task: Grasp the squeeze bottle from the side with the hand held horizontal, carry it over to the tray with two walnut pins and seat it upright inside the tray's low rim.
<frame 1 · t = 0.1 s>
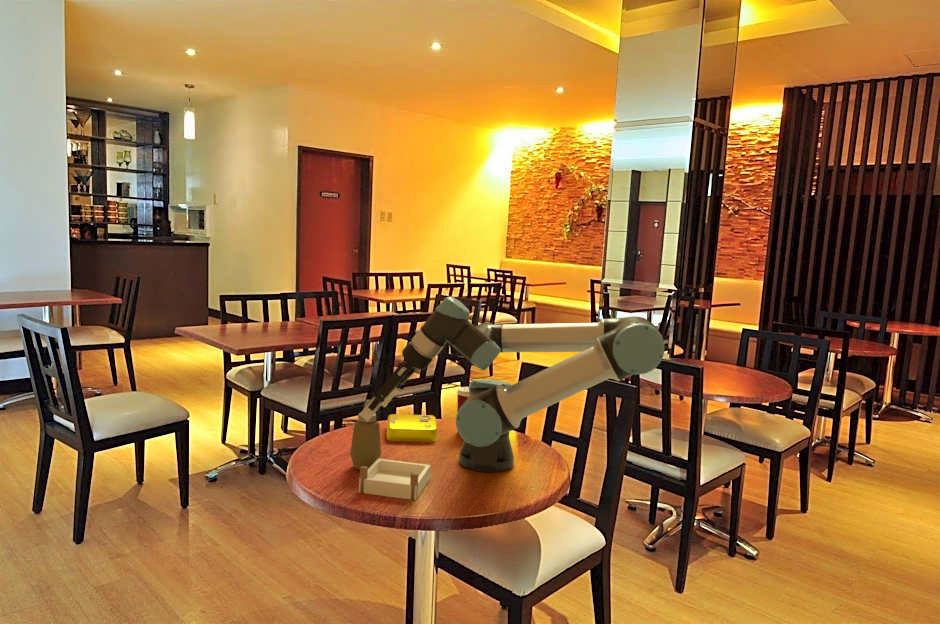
hand: (372, 410, 168), 15 cm above the table, tool tilted 35°, fingers open, 13 cm apart
paper cup: (466, 433, 203), on the table
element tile: (411, 435, 199), on the table
tray: (395, 485, 159), on the table
squeeze bottle: (365, 467, 169), on the table
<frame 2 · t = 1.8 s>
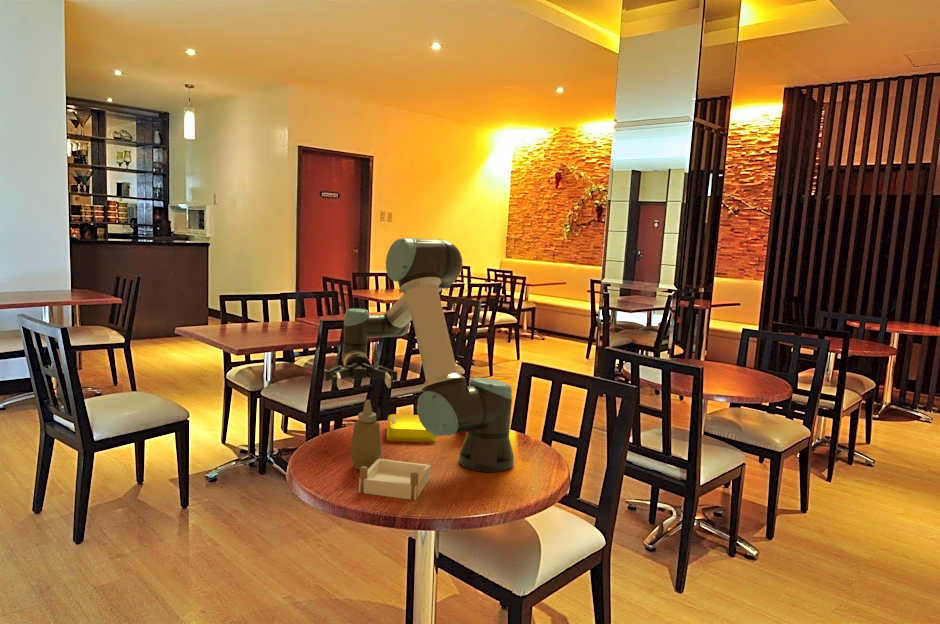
hand: (364, 383, 176), 20 cm above the table, tool horizontal, fingers open, 13 cm apart
nothing on the table moved.
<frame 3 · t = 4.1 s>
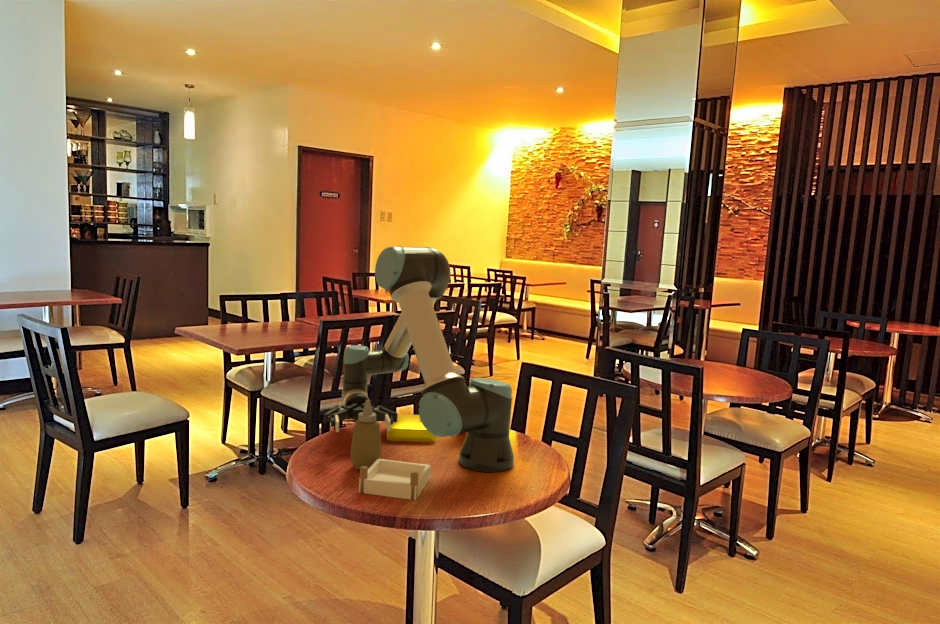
hand: (363, 426, 171), 10 cm above the table, tool horizontal, fingers open, 13 cm apart
nothing on the table moved.
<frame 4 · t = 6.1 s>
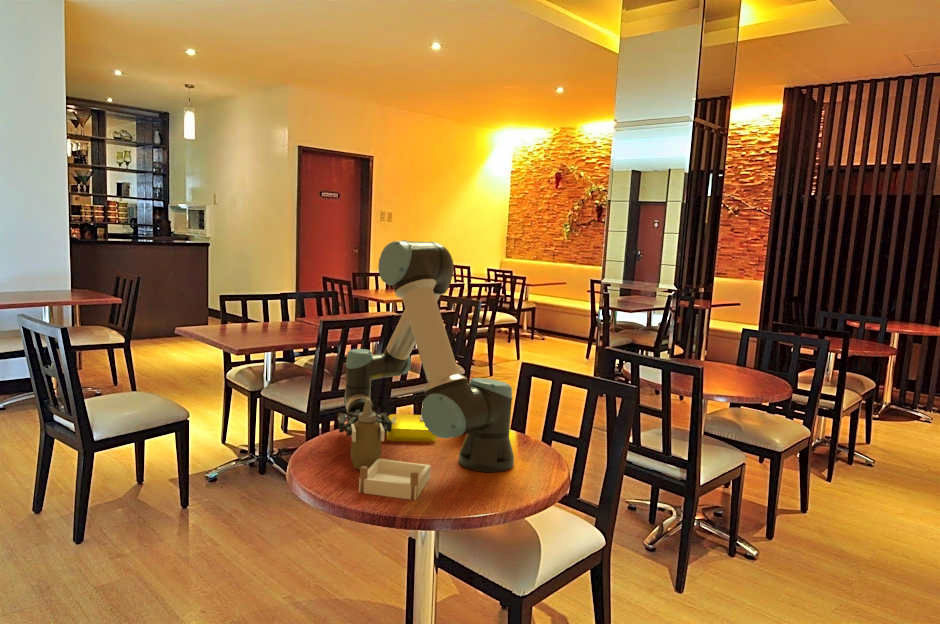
hand: (368, 436, 163), 10 cm above the table, tool horizontal, fingers closed on squeeze bottle, 6 cm apart
squeeze bottle: (365, 467, 169), on the table, touching gripper
everything else where it was.
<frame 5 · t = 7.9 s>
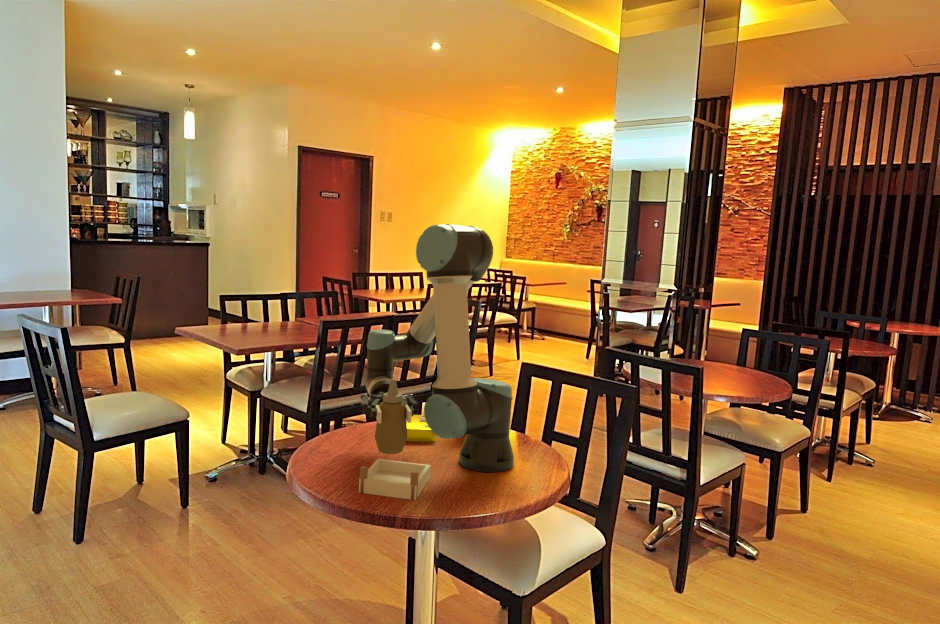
hand: (395, 417, 154), 18 cm above the table, tool horizontal, fingers closed on squeeze bottle, 6 cm apart
squeeze bottle: (390, 451, 160), point 8 cm above the table, touching gripper
everything else where it was.
when the fingers open (12 cm above the table, at t = 9.6 s): squeeze bottle stays where it is, resting on tray.
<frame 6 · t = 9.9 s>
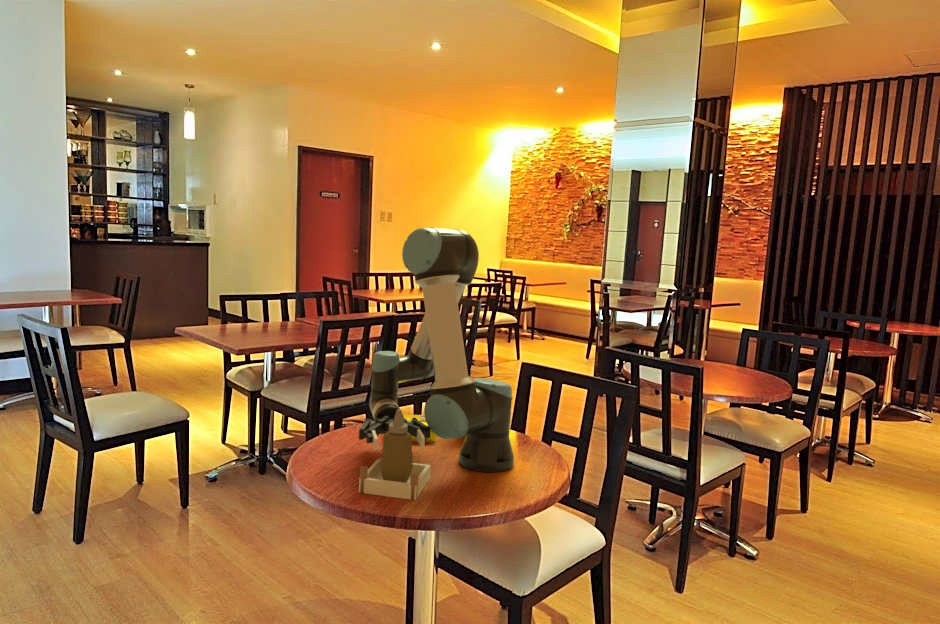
hand: (399, 443, 153), 12 cm above the table, tool horizontal, fingers open, 10 cm apart
squeeze bottle: (395, 481, 159), point 1 cm above the table, touching tray
everything else where it was.
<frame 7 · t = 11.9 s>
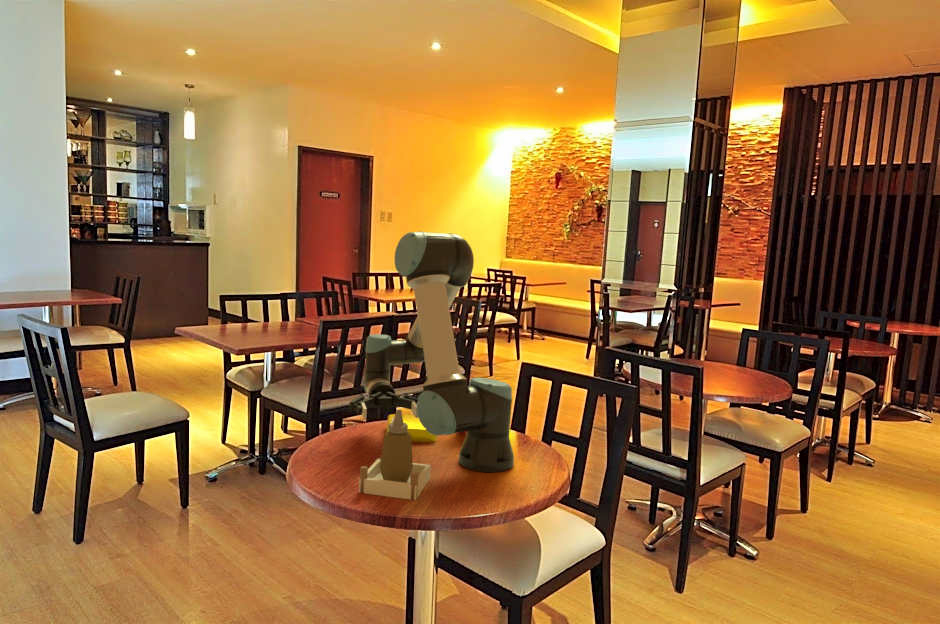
hand: (391, 413, 168), 15 cm above the table, tool horizontal, fingers open, 13 cm apart
nothing on the table moved.
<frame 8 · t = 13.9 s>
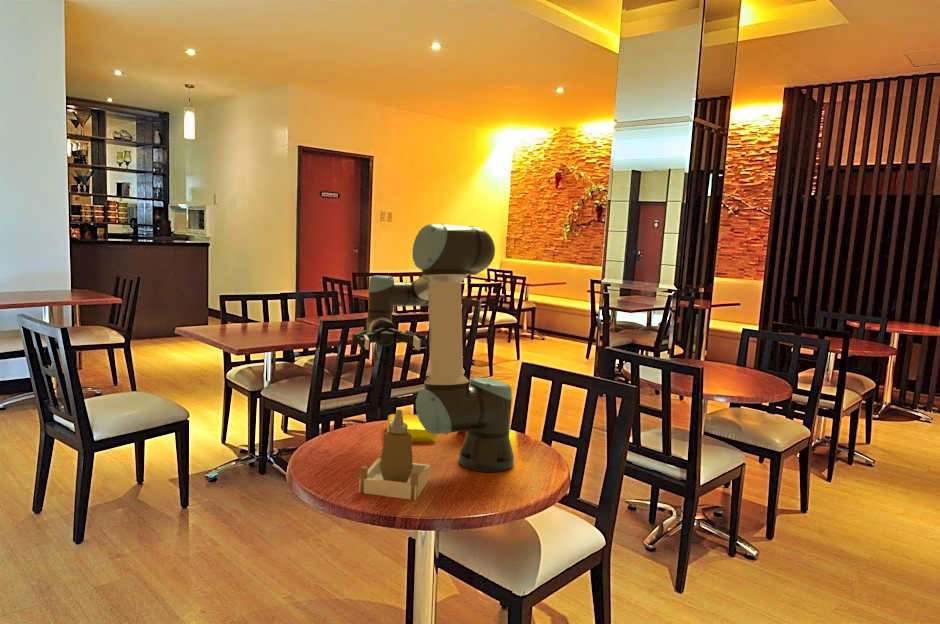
hand: (393, 344, 171), 32 cm above the table, tool horizontal, fingers open, 13 cm apart
nothing on the table moved.
at the end: squeeze bottle inside the target area on the tray (0.1 cm from its centre), point 0.8 cm above the tray's base; squeeze bottle tilted 0°; the gripper is holding nothing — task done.
